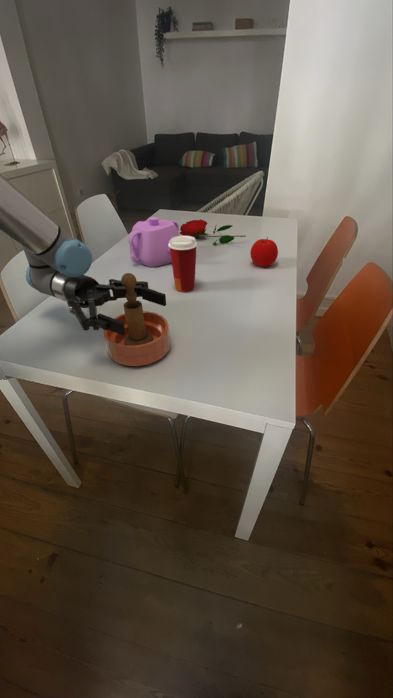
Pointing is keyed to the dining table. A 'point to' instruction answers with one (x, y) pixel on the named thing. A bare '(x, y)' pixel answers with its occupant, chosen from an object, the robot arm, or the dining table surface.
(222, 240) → the flower
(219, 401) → the dining table surface
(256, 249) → the fruit
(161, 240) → the teapot
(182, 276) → the coffee cup
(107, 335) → the bowl
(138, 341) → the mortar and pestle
